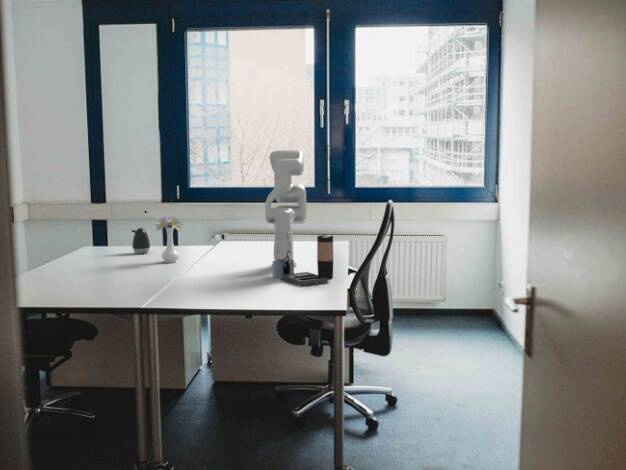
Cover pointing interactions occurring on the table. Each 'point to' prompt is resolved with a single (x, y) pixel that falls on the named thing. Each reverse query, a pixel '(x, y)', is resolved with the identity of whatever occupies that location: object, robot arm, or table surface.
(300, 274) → the rack
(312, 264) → the table surface
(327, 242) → the travel mug
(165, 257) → the flower vase
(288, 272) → the robot arm
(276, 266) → the panel
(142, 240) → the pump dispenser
